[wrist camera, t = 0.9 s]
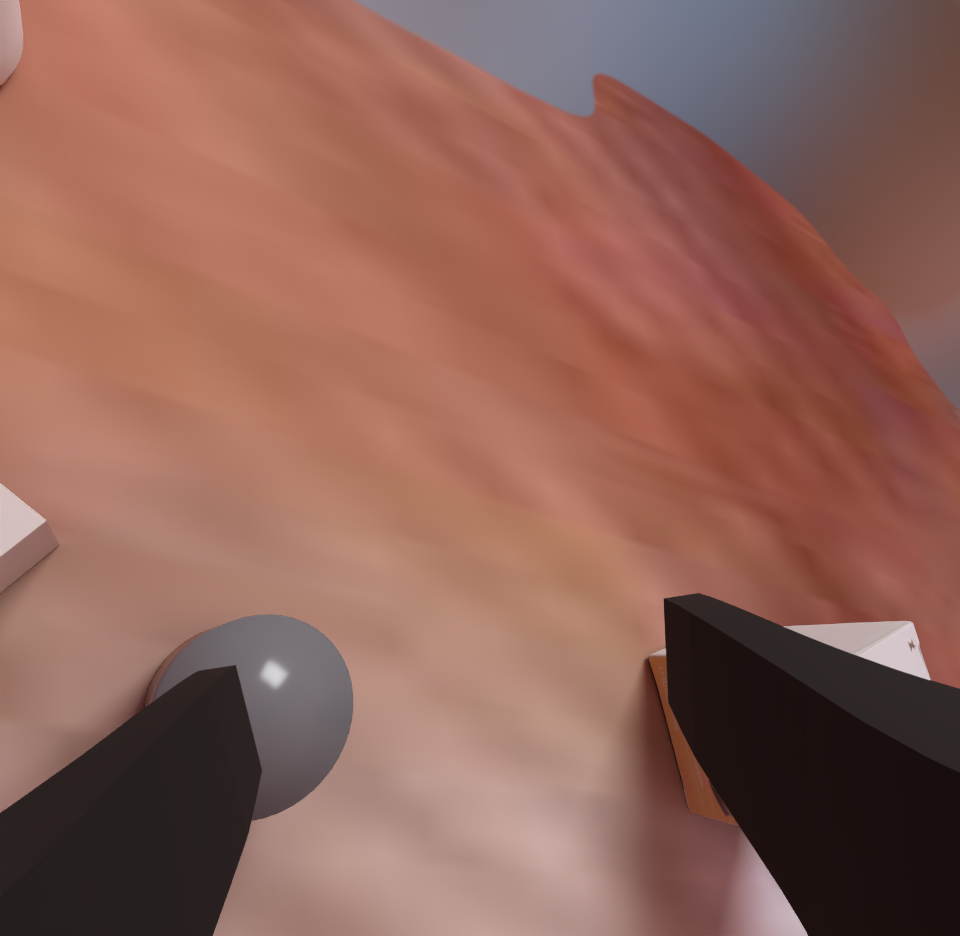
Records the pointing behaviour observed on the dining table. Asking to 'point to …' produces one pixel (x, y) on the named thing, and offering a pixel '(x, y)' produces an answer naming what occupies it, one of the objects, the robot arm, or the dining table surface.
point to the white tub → (21, 538)
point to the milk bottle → (10, 38)
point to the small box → (867, 640)
